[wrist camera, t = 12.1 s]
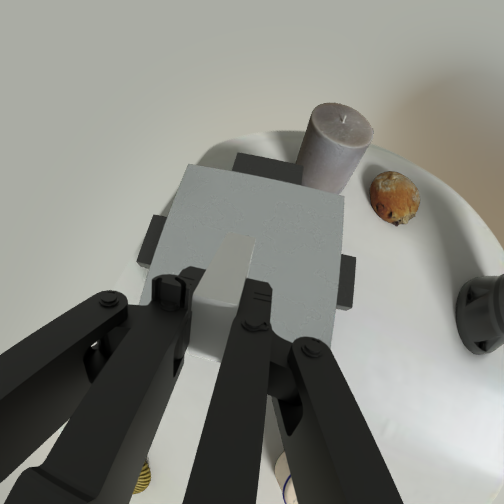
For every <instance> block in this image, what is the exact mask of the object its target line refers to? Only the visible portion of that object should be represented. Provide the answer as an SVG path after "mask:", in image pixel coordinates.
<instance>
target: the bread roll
mask: <svg viewBox="0 0 504 504" xmlns="http://www.w3.org/2000/svg"><path fill="white" fill-rule="evenodd" d="M370 198H371V204H372V207H373V208H374V210H375V212H376V213H377V214H378V216H379V217H381V218H382V219H383V220H384V221H387V222H389V223H391V224H394V225H395V226H398V225H399V224H407V223H408V220H410V219H411V218H413V217H415V214H416V212H417V210H418V207H419V203H420V195H419V191H418V189H417V187H416V186H415V185H414V184H413V183H412V181H411V180H409V179H408V178H407V177H405V176H404V175H402V174H400V173H398V172H393V171H388V172H384V173H381V174H380V175H378V176H377V177H376V178H375V179H374V181H373V182H372V184H371V187H370Z"/></svg>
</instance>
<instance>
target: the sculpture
mask: <svg viewBox="0 0 504 504" xmlns="http://www.w3.org/2000/svg"><path fill="white" fill-rule="evenodd" d="M144 465H145V466H144ZM144 465H143V467H142V470H141V473H140V475H139V478H138V481H137V483H136V486H135V489H134V491H133V494H137V493H140V492H142V491H144V490H145V489H146V488H147V487H148V485H149V483H150V481H151V473H150V468H149V467H148V464H147V463H145V462H144ZM146 468H147V469H146Z"/></svg>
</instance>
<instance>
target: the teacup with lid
mask: <svg viewBox="0 0 504 504" xmlns="http://www.w3.org/2000/svg"><path fill="white" fill-rule="evenodd" d="M275 476H276V479H277V481H278V483H279V486H280V488H281V490H282V492H283V499H284V502H285V504H298V501H297V497H296V494H295V490H294V486H293V482H292V478H291V474H290V470H289V466H288V462H287V458H286V454H285V451H284V452H283V453H282V454H281V455H280V457H279V458H278V460H277V462H276V465H275Z"/></svg>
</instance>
